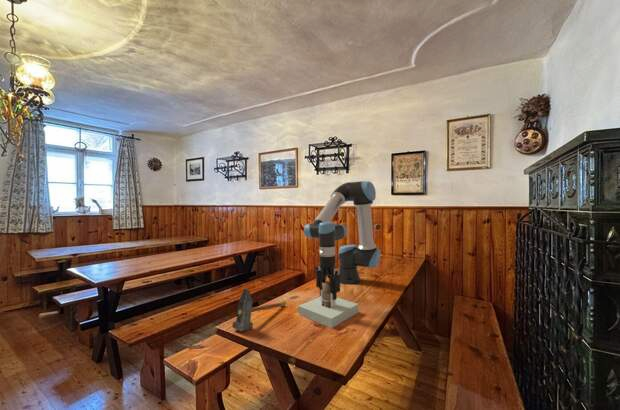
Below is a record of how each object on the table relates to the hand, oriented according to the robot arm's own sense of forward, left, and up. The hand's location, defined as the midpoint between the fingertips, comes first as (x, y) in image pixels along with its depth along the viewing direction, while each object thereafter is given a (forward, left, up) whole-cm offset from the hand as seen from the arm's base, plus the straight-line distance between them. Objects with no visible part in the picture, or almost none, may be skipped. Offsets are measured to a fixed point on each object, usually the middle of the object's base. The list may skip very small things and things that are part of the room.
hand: (328, 304), depth 121 cm
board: (0, 0, -4) cm, 4 cm away
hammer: (+23, -20, -5) cm, 31 cm away
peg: (0, 0, -2) cm, 2 cm away
